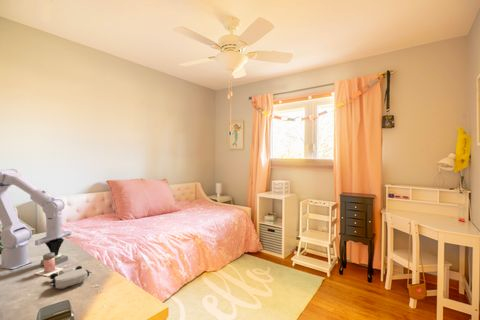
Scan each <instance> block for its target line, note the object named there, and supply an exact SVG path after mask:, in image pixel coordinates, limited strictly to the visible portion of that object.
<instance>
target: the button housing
mask: <svg viewBox="0 0 480 320" xmlns="http://www.w3.org/2000/svg"><path fill="white" fill-rule="evenodd" d="M68 257H69V256H68V255H64V254H61V257H60V258H58V259H55V266H57V265H60V264H62V263H64V262H65V263H66V262H67V261H68V260H69V258H68ZM40 265H41V266H44V260H43V259H41V260H40Z"/></svg>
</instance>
